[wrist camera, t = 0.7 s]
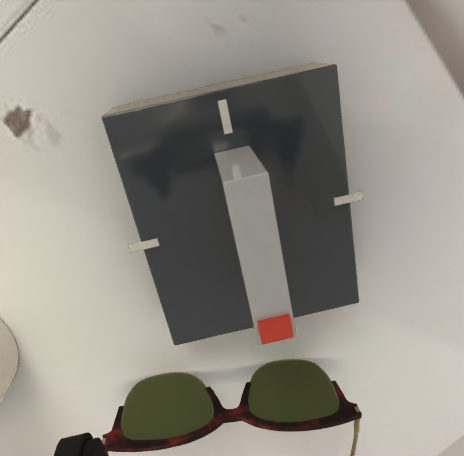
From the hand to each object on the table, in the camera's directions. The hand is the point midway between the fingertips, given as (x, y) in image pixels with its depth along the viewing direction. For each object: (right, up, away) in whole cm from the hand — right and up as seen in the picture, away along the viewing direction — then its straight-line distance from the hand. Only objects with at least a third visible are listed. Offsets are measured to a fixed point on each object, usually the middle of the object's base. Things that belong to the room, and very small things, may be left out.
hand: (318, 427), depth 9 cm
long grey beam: (-1, +5, +11) cm, 12 cm away
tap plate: (-2, +6, +13) cm, 15 cm away
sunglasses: (-2, -11, +21) cm, 23 cm away
